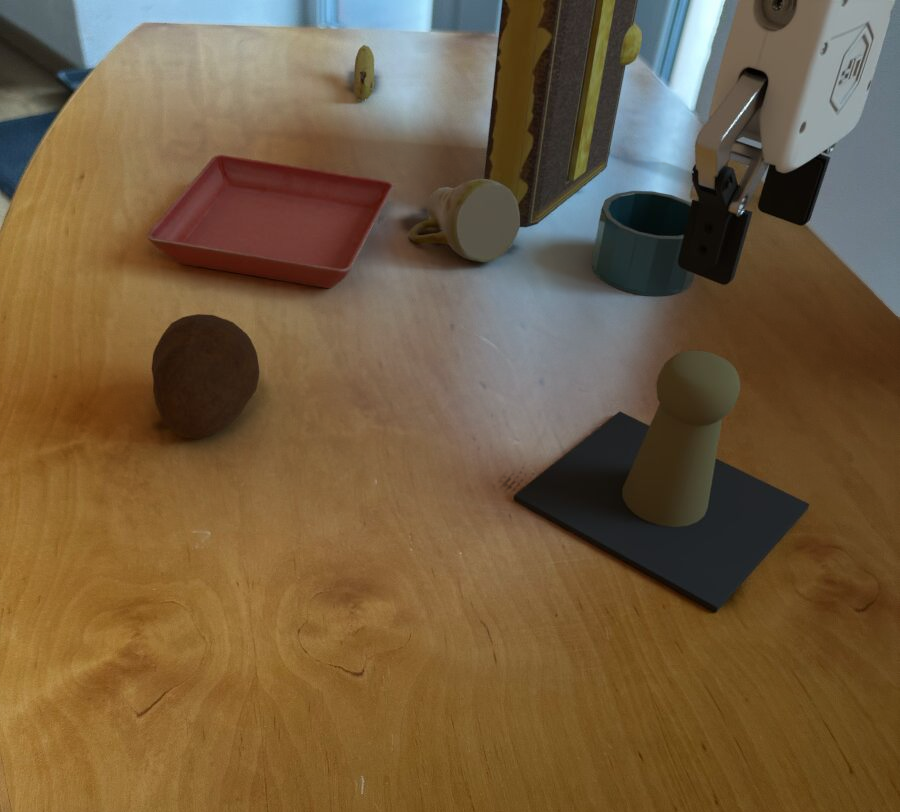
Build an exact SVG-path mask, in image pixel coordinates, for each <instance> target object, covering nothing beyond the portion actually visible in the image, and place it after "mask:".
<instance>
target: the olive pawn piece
mask: <svg viewBox="0 0 900 812" xmlns="http://www.w3.org/2000/svg"><path fill="white" fill-rule="evenodd" d="M655 385H656V398H657V401H658V402H659V404H658V406H657V408H656V411H655V413H654V415H653V418H652V419H651V422H650V425H649V426H650V427H649V429H648V431H647V434H646V436H645V438H644V441H643V443H642V445H641V447H640V450H639V452H638V454H637V457H636V459H635V461H634V463H633V466H632V468H631V470H630V473H629V475H628V477H627V480H626V482H625V484H624V486H623V489H622V494H623V499H624V501H625V503H626V505H627V507H628V508H629V509H630V510H631V511H632V512H634V513H635V514H636V515H637V516H639V517H641V518H642V519H644V520H646V521H648V522H651V523H654V524H657V525H660V526H669V527H681V526H688V525H691V524H693V523H696V522H698V521H699V520H700V519H701V518H702V517H704V516H705V513H706V511H707V508H708V502H709V496H710V490H711V484H712V478H713V472H714V466H715V460H716V459H717V453H718V446H719V441H720V434H721V430H722V429H721V428H722V422H723V419H724V418H725V417H726V416H728V415H729V414H730V413H731V412H732V410H733V409H734V407H735V406H736V403H737V401H738V398H739V395H740V393H741V382H740V377H739V373H738V371H737V369H736V368H735V367H734V365H733V363H731V362H730V361H728V360H727V359H725V358H723V357H722V356H720V355H718V354H715V353H714V352H713V353H712V352H709V351H704V350H684V351H680V352H677V353H675V354H673V356H671V357H670V358H669V359H667V360H666V361H665V362H664V363H663V365H662V367H661V369H660V371H659V373H658V375H657V379H656V384H655Z"/></svg>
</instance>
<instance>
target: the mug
mask: <svg viewBox="0 0 900 812" xmlns="http://www.w3.org/2000/svg"><path fill="white" fill-rule="evenodd" d="M426 215H427V219H426V220H424V221H421V222H419V223H416V224H415V225H413V226H412V228H411V229H410V230H409V232H408V236H407V237H409V238H408V239H409V240H410V241H412V242H413V243H415V244H419V245H427V244H444V245H448V246H450V248H451V249H452V250H453V251H454V253H456V254H458V255H459V256H461V257H462V258H464V259H466V260H468V261H473V262H479V263H480V262H481V263H491V262H493V261H495V260H497V259H499V258H500V257H502V256H504V254H506V253H507V251H509V249H510V248H511V246H512V245H513V243H514V242H515V240H516V237H517V236H518V233H519V230H520V227H521V226H520V213H519V207H518V204H517V201H516V198H515V197H514V195H513V194H512V192H511V191H510V190H509V189H508V188H507V187H505V186H504V185H502V184H500V183H498V182H496V181H493V180H488V179H484V178H476V179H471V180H468V181H465V182H463V183H461V184H459V185H458V186H457V185H456V186H455V187H449V186H444V187H440V188H438V189H436V190H435V191H433V192H432V194H430V197H429V198H428V200H427V203H426ZM429 228H432V229H433V228H434V229H437V230H440V231H439V232H434V233H427V234H420V233H421V232H423V231H424V230H426V229H429Z"/></svg>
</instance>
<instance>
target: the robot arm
mask: <svg viewBox="0 0 900 812" xmlns="http://www.w3.org/2000/svg"><path fill="white" fill-rule="evenodd" d="M895 3H896V0H738V2H737V5H736V7H735V11H734V15H733V18H732V21H731V25H730V29H729V32H728V36H727V39H726V43H725V47H724V50H723V54H722V58H721V61H720V66H719V68H718V73H717V78H716V81H715V86H714V90H713V93H712V94H713V95H712V99H711V104H710V107H709V108H710V109H709V114H708V120H707V121H706V123H705V124H704V125H703V126H702V128H701V129H700V131H699V132H698V134H697V136H696V139H695V145H694V149H695V150H694V152H695V153H694V154H695V155H694V156H695V157H694V158H695V163H694V165H693V167H692V173H691V176H692V177H691V178H692V179H691V182H692V186H691V189H690V194H689V198H690V200H691V207H690V211H689V215H688V220H687V224H686V228H685V232H684V236H683V241H682V245H681V249H680V253H679V258H678V264H679V266H680V267H681V268H682V269H684V270H687V271H689V272H692V273H694V274H695V275H697V276H700V277H702V278H705V279H707V280H709V281H712V282H715V283H716V284H719V285H722V286H726V285H728V284H729V283H731V282H732V281H733V280H734V279H735V277H736V274H737V269H738V266H739V262H740V258H741V255H742V252H743V249H744V245H745V240H746V237H747V233H748V230H749V227H750V224H751V219H752V217H753V211H750V210H748V209H747V207H748V205H749V204H750V201H751V200H752V198H753V196H754V194H755V192H756V190H757V188H758V186H759V185H760V183H761V181H762V179H763V177H764V175H765V178H764V182H763V185H762V188H761V193H760V195H759V200H758V203H757V209H758V210H759V211H760V213H761V212H762V213H763V214H766V215H769V216H772V217H774V218H777V219H780V220H783V221H785V222H788V223H791V224H794V225H796V226H799V227H803V226H804V225H806V224H808V223H809V222H810V221H811V220H812V219H811V218H812V216H813V212H814V209H815V206H816V203H817V200H818V197H819V194H820V191H821V189H822V185H823V182H824V180H825V179H824V178H825V176H826V172H827V170H828V166H829V164H830V161H831V156H827V155H830V154H832V152H833V150H834V148H836V144H837V143H838V142H839V141H840V140H842V139H843V138H844V137H846V136H847V135H848V134H849V133H851V132H852V131H853V130H854V128H855V127H856V126H857V124H858V123H859V121H860V119H861V117H862V114H863V111H864V108H865V106H866V102H867V100H868V99H867V98H868V96H869V93H870V89H871V85H872V82H873V79H874V76H875V72H876V69H877V66H878V61H879V59H880V55H881V51H882V48H883V45H884V41H885V38H886V34H887V31H888V27H889V24H890V21H891V17H892V13H893V10H894V6H895ZM742 138H744V139H748V140H751V141H754V142H757V143H760V144H761V147H757V146H755V145H751V144H748V143H745V142H742V141H739V140H740V139H742ZM825 154H826V155H825ZM730 160H731V161H734V162H737V163H739V164H743V165H746V166H747V168H746V170H745V172H744V174H743V176H742V177H741V180H740V181H739V183H738V179H737V176H736V172H735V169H734V168H733V167H731V166H729V161H730ZM766 171H767V172H766Z"/></svg>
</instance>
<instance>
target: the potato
mask: <svg viewBox="0 0 900 812" xmlns="http://www.w3.org/2000/svg"><path fill="white" fill-rule="evenodd" d="M151 360H152V361H151V362H152V363H151V373H152V379H153V380H152V383H153V385H152V386H153V387H152V392H153V396H154V401H155V406H156V408H157V410H158V412H159V415H160V417H161V418H162V421H163V422H164V424H165V425H166V426H167V428H169V429H170V430H171V431H172V432H174V433H175V434H176V435H177V436H180V437H183V438H186V439H190V440H196V439H202V438H207V437H211V436H214V435H216V434H218V433H219V432H221V431H222V430H224V429H226V428H227V427H228V426H229V425H230V424H231V423H233V422H234V421H235V420H236V419H237V418H238V417H239V416H240V415H241V413H242V412H243V410H244V409H245V408H246V406H247V404H248V403H249V402H250V400H251V399H252V398H253V396H254V394H255V393H256V391H257V387H258V383H259V379H260V364H259V358H258V352H257V350H256V348H255V345H254V343H253V341H252V339H251V338H250V336H249V334H247V333H246V332H245V331H244V330H243V329H242V328H241V327H239V326H238V324H236V323H234V322H233V321H231V320H229V319H226V318H223V317H220V316H218V315H215V314H204V313H203V314H202V313H196V314H191V315H187V316H183V317H180V318H178V319H176V320H175V321H173V322H171V323H170V324H169V326H168V327H167V328H166V329H165V331H164V332H163V333H162V335H161V337H160V338H159V341H158V342H157V344H156V345H155V348H154V351H153V353H152V359H151Z"/></svg>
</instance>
